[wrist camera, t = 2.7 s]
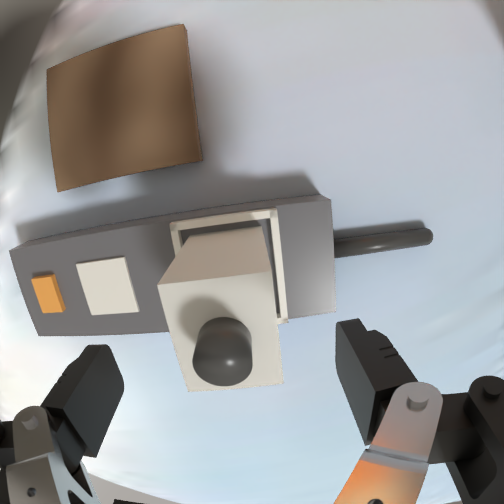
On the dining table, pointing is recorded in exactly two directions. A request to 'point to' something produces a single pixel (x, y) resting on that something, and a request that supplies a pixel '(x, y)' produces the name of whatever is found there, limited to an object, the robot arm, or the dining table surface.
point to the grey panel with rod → (163, 253)
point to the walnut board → (123, 109)
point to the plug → (223, 311)
